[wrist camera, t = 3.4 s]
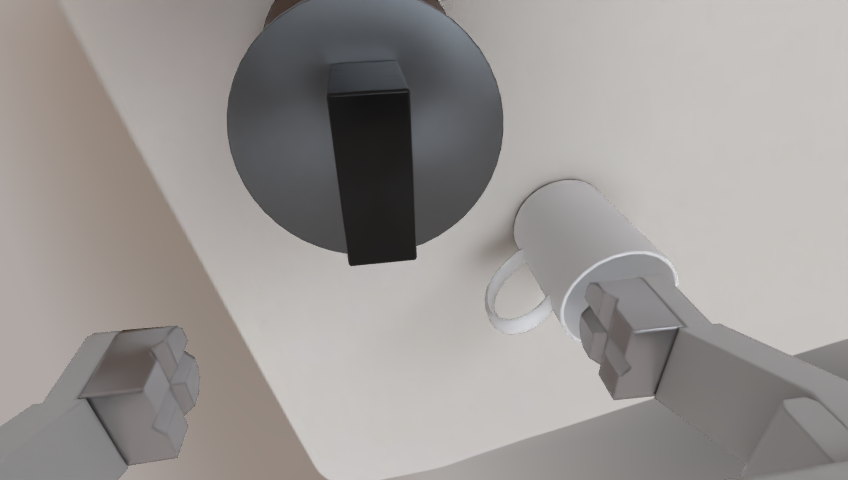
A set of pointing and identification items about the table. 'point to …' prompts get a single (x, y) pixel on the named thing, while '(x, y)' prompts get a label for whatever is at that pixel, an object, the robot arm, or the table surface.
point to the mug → (572, 253)
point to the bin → (365, 125)
